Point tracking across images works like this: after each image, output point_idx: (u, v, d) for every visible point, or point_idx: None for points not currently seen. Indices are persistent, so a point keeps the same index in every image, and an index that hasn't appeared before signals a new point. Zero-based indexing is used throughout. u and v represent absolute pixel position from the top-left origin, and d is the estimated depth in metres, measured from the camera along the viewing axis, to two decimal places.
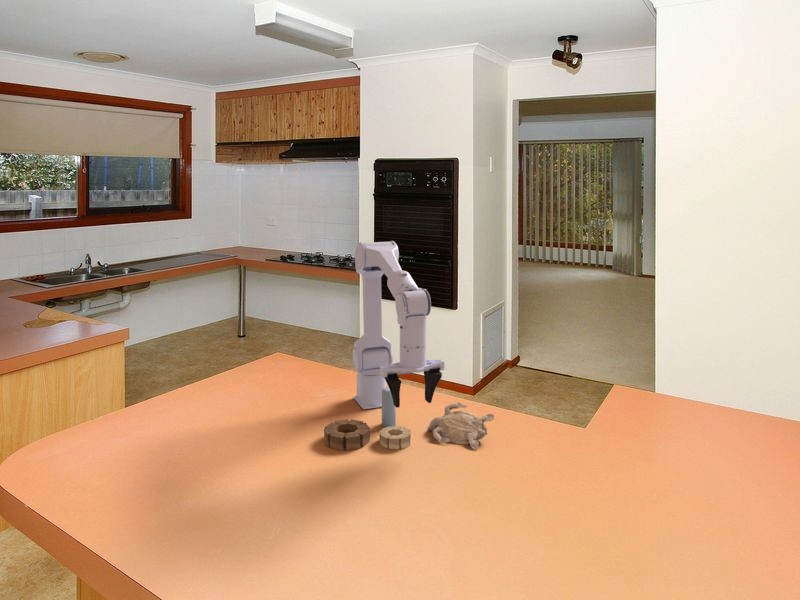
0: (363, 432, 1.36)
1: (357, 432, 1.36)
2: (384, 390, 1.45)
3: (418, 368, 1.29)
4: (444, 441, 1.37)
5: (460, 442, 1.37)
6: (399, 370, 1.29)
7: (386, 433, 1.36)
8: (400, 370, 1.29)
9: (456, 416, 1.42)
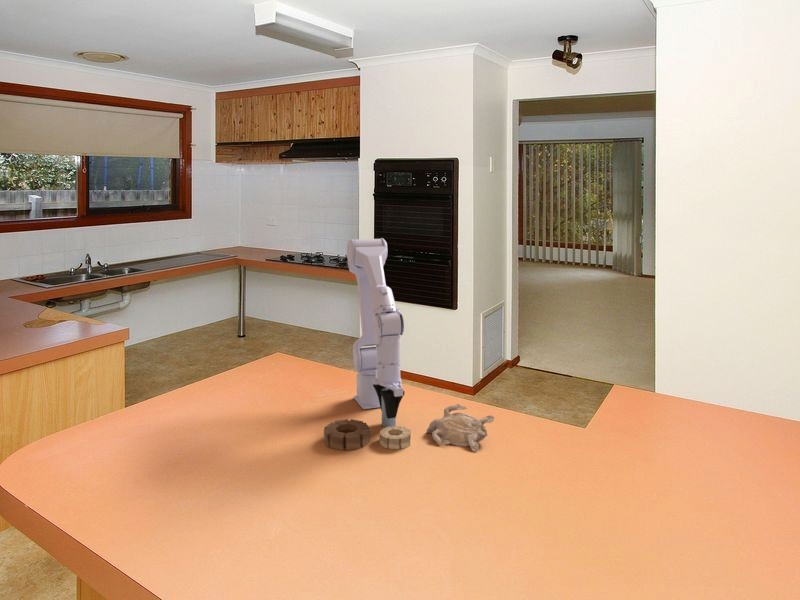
0: (363, 432, 1.36)
1: (357, 432, 1.36)
2: None
3: (375, 380, 1.44)
4: (444, 443, 1.36)
5: (460, 444, 1.36)
6: (376, 376, 1.48)
7: (386, 433, 1.36)
8: (376, 376, 1.48)
9: (455, 418, 1.41)
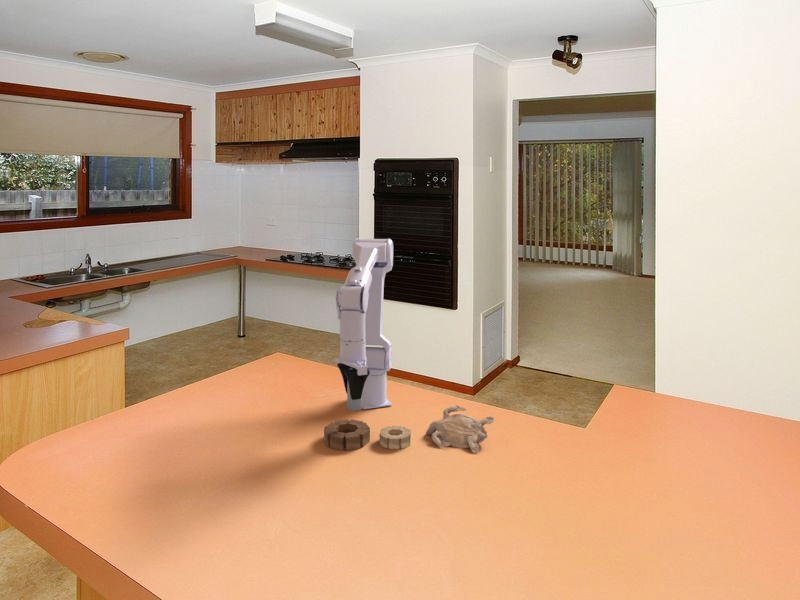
0: (363, 432, 1.36)
1: (357, 432, 1.36)
2: None
3: (338, 359, 1.35)
4: (444, 445, 1.35)
5: (460, 446, 1.35)
6: None
7: (386, 433, 1.36)
8: None
9: (455, 419, 1.40)
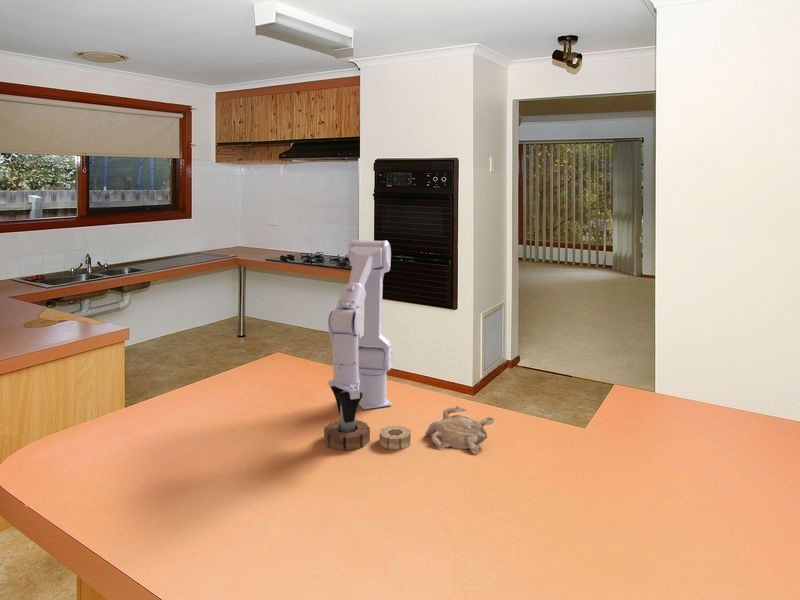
0: (363, 432, 1.36)
1: (357, 432, 1.36)
2: None
3: (331, 381, 1.35)
4: (444, 446, 1.34)
5: (460, 446, 1.35)
6: None
7: (386, 433, 1.36)
8: None
9: (455, 420, 1.39)
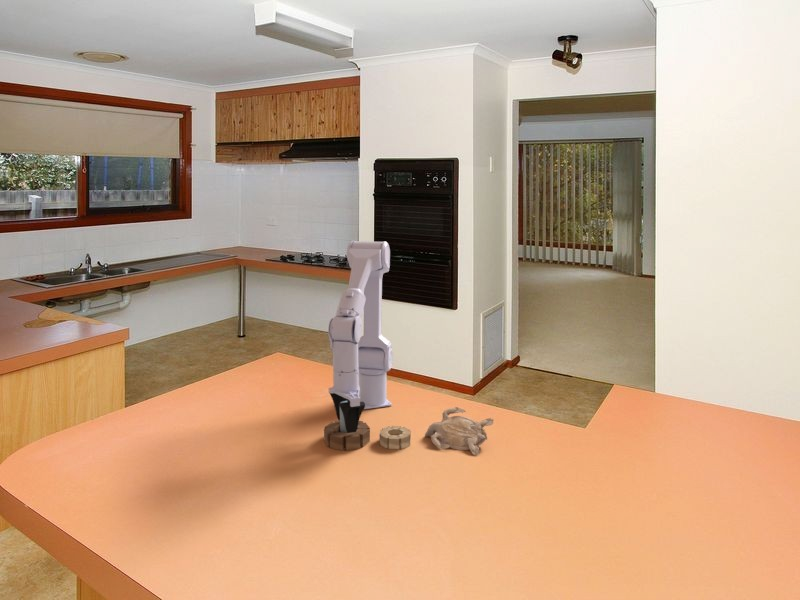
0: (363, 432, 1.36)
1: (357, 432, 1.36)
2: None
3: (331, 389, 1.35)
4: (444, 447, 1.34)
5: (460, 448, 1.34)
6: None
7: (386, 433, 1.36)
8: None
9: (454, 421, 1.39)
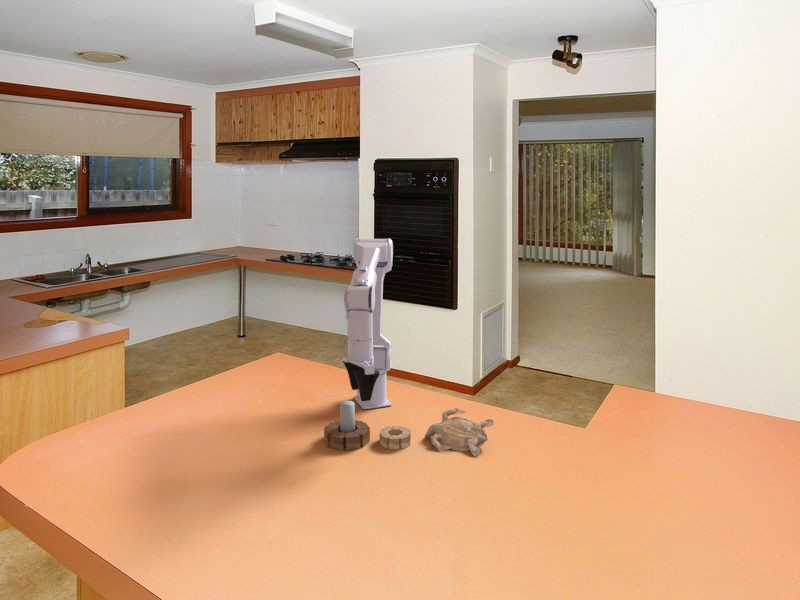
0: (363, 432, 1.36)
1: (357, 432, 1.36)
2: (342, 404, 1.36)
3: (346, 358, 1.36)
4: (444, 448, 1.33)
5: (460, 449, 1.33)
6: None
7: (386, 433, 1.36)
8: None
9: (454, 422, 1.38)
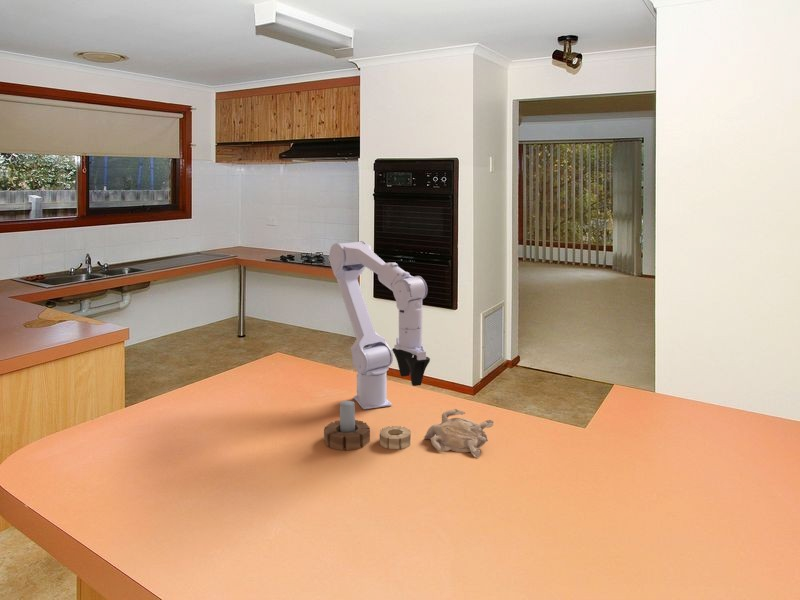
0: (363, 432, 1.36)
1: (357, 432, 1.36)
2: (342, 404, 1.36)
3: (397, 345, 1.45)
4: (444, 450, 1.32)
5: (460, 450, 1.33)
6: None
7: (386, 433, 1.36)
8: None
9: (454, 423, 1.38)
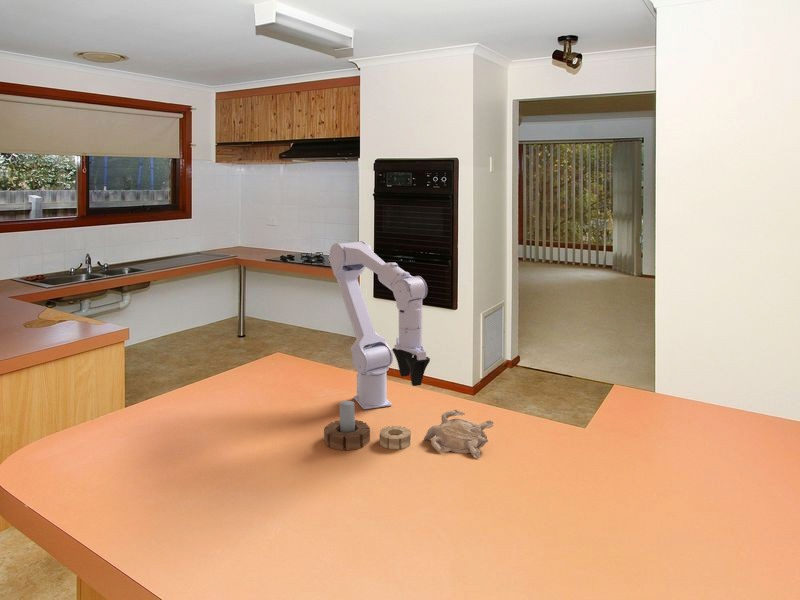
0: (363, 432, 1.36)
1: (357, 432, 1.36)
2: (342, 404, 1.36)
3: (397, 345, 1.45)
4: (444, 451, 1.32)
5: (460, 451, 1.32)
6: None
7: (386, 433, 1.36)
8: None
9: (454, 424, 1.37)
